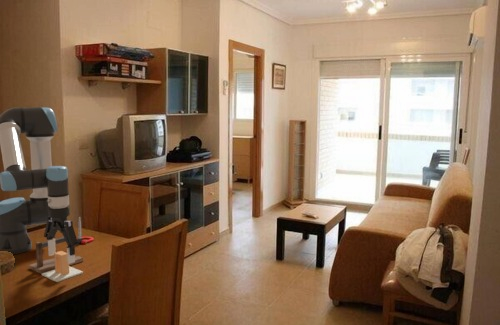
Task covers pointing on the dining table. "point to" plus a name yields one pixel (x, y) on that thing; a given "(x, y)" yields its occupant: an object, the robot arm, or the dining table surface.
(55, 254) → the c-link
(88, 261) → the dining table surface
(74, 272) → the rubber mat
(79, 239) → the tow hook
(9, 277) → the dining table surface
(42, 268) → the stand
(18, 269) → the dining table surface
